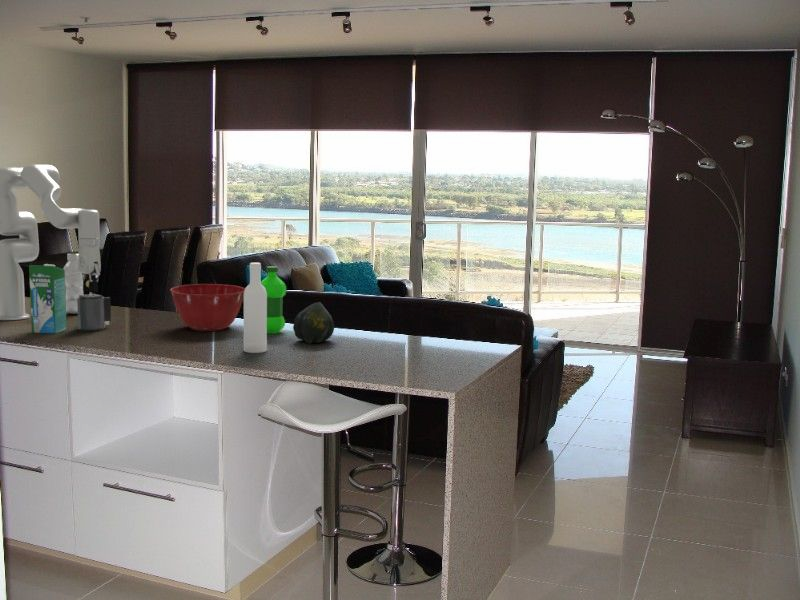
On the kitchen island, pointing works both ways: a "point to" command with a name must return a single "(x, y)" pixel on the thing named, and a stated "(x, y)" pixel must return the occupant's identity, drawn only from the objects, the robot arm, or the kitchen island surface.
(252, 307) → the bottle
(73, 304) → the plastic bottle
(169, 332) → the kitchen island surface
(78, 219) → the robot arm
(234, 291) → the mixing bowl
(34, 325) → the milk carton
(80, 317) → the carafe
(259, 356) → the kitchen island surface
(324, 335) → the squash
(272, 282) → the plastic bottle
